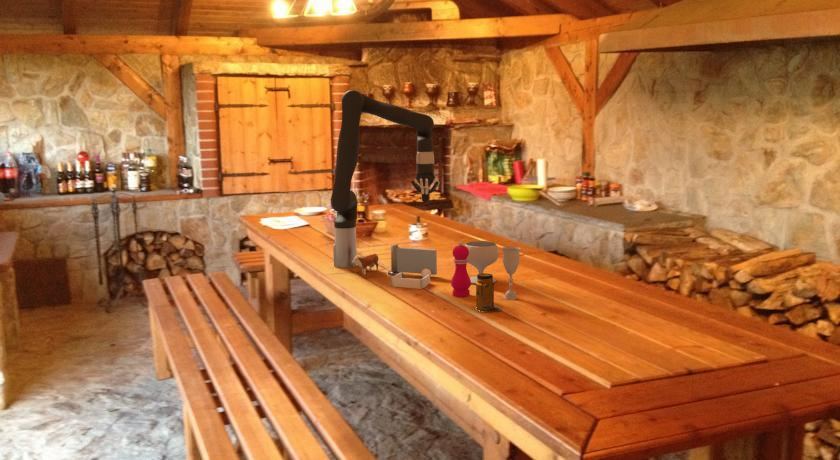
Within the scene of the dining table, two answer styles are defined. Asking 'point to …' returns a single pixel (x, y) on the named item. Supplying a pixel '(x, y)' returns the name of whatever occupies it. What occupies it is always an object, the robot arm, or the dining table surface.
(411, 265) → the paddle
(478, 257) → the chalice
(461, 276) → the pepper mill
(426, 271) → the ball
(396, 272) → the lever base
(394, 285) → the pocket
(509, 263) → the chalice
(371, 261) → the bull figurine
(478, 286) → the condiment
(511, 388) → the dining table surface
